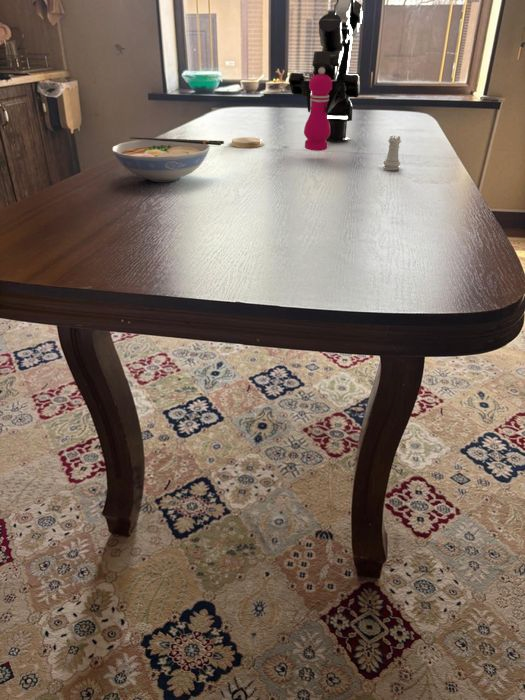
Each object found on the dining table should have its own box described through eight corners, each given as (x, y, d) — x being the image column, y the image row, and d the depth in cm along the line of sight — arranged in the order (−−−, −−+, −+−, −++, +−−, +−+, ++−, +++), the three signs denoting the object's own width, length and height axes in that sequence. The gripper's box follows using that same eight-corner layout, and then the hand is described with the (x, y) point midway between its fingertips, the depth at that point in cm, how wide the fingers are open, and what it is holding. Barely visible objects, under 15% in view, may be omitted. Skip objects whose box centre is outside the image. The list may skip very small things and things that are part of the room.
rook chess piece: (401, 168, 137) (406, 135, 133) (397, 171, 134) (402, 138, 129) (384, 166, 139) (388, 134, 134) (380, 170, 135) (384, 137, 131)
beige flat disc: (250, 141, 170) (250, 136, 170) (267, 145, 164) (267, 140, 163) (225, 144, 165) (225, 139, 165) (242, 148, 159) (242, 143, 158)
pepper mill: (298, 148, 144) (302, 66, 133) (311, 143, 149) (316, 64, 138) (320, 152, 141) (327, 69, 130) (333, 147, 146) (341, 67, 135)
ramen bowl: (92, 185, 121) (86, 147, 116) (144, 165, 139) (140, 132, 135) (189, 195, 113) (186, 156, 109) (230, 173, 132) (229, 138, 127)
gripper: (291, 37, 137) (278, 89, 134) (362, 38, 131) (350, 91, 128) (298, 69, 147) (286, 117, 144) (364, 71, 142) (353, 121, 139)
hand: (317, 111), depth 139 cm, fingers closed on pepper mill, 5 cm apart
